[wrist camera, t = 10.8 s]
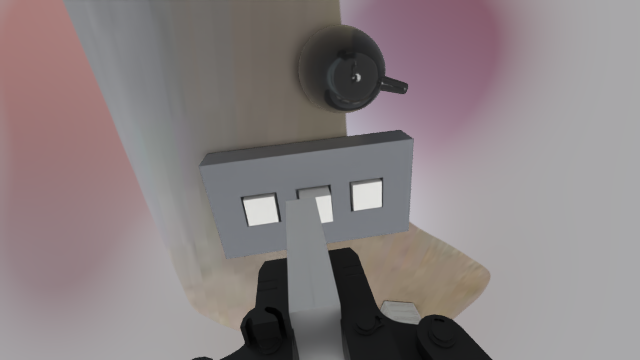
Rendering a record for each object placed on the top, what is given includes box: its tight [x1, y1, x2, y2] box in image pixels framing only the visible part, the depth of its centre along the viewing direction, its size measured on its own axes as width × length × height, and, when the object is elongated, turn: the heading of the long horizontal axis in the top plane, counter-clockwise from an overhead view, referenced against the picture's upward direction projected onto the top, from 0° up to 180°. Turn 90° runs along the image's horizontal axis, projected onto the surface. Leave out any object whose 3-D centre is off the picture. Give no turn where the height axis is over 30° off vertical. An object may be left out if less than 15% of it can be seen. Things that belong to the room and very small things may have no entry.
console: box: [199, 130, 414, 259], centre depth 44 cm, size 16×30×5 cm, turn 95°
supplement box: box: [380, 301, 421, 324], centre depth 57 cm, size 7×7×13 cm
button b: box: [298, 185, 333, 223], centre depth 42 cm, size 4×4×4 cm
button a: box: [243, 192, 279, 226], centre depth 43 cm, size 4×4×4 cm
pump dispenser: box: [298, 25, 408, 113], centre depth 32 cm, size 10×10×15 cm
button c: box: [349, 178, 382, 211], centre depth 44 cm, size 4×4×4 cm
